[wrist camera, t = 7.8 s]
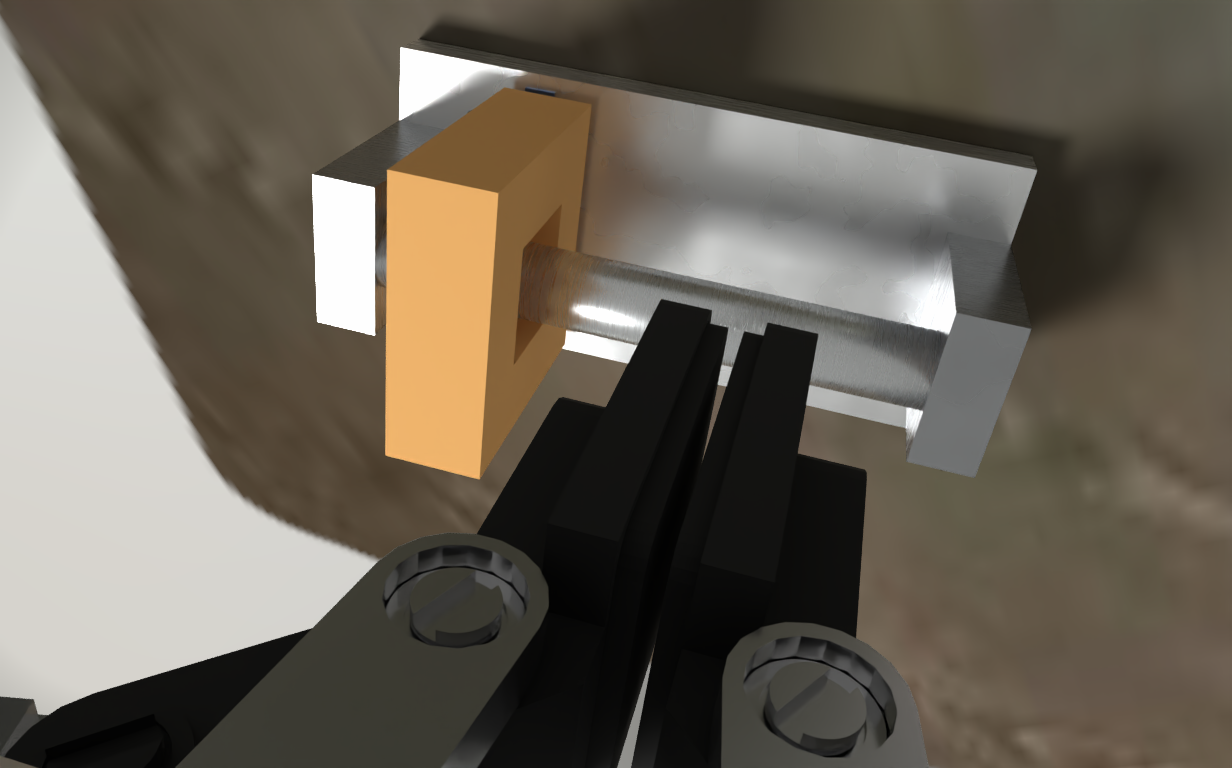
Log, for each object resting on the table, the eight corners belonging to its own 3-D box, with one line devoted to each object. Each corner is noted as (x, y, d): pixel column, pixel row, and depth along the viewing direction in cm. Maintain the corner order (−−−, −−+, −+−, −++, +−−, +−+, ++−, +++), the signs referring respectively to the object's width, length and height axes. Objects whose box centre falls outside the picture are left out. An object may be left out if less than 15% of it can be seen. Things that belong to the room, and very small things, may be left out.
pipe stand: (1032, 155, 32) (1065, 245, 26) (941, 415, 38) (949, 545, 31) (418, 38, 35) (306, 92, 29) (413, 294, 41) (317, 389, 34)
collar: (591, 104, 33) (498, 193, 25) (565, 343, 38) (479, 479, 30) (504, 87, 33) (387, 169, 26) (488, 326, 38) (385, 455, 30)
